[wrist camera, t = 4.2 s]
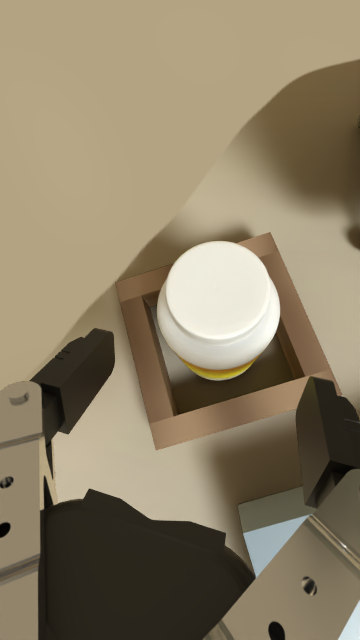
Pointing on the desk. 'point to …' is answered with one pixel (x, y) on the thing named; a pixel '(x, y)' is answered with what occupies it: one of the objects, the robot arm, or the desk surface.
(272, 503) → the tray
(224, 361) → the supplement bottle
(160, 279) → the holder
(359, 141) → the desk surface
